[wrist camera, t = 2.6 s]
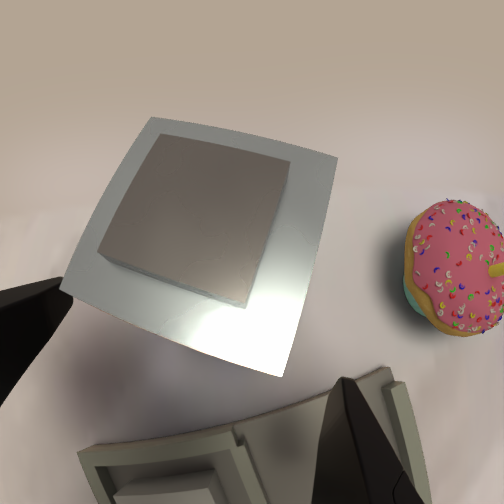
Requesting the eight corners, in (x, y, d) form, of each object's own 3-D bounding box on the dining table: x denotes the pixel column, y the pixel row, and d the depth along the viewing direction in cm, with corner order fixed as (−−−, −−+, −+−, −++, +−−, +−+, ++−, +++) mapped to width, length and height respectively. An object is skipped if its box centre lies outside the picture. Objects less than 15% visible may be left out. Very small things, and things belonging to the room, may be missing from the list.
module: (260, 365, 17) (287, 382, 4) (181, 339, 18) (41, 283, 5) (284, 287, 19) (346, 141, 6) (208, 264, 19) (145, 99, 7)
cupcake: (478, 326, 18) (598, 283, 6) (391, 358, 17) (533, 338, 6) (449, 224, 21) (541, 137, 9) (363, 237, 20) (451, 119, 9)
